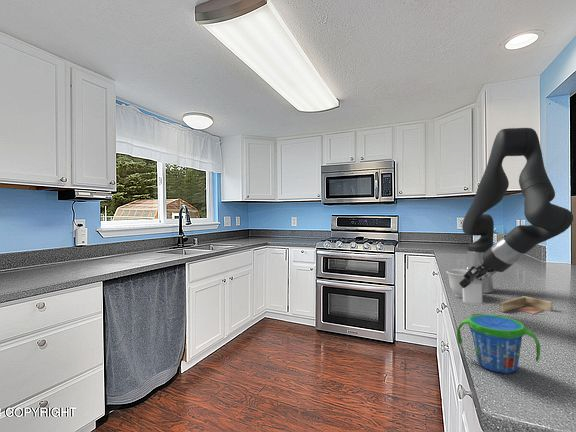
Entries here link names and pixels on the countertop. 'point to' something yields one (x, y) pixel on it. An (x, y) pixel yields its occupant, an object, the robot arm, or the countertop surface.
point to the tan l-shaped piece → (526, 302)
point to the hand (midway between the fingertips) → (466, 284)
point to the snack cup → (497, 341)
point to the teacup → (456, 280)
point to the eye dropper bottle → (473, 293)
